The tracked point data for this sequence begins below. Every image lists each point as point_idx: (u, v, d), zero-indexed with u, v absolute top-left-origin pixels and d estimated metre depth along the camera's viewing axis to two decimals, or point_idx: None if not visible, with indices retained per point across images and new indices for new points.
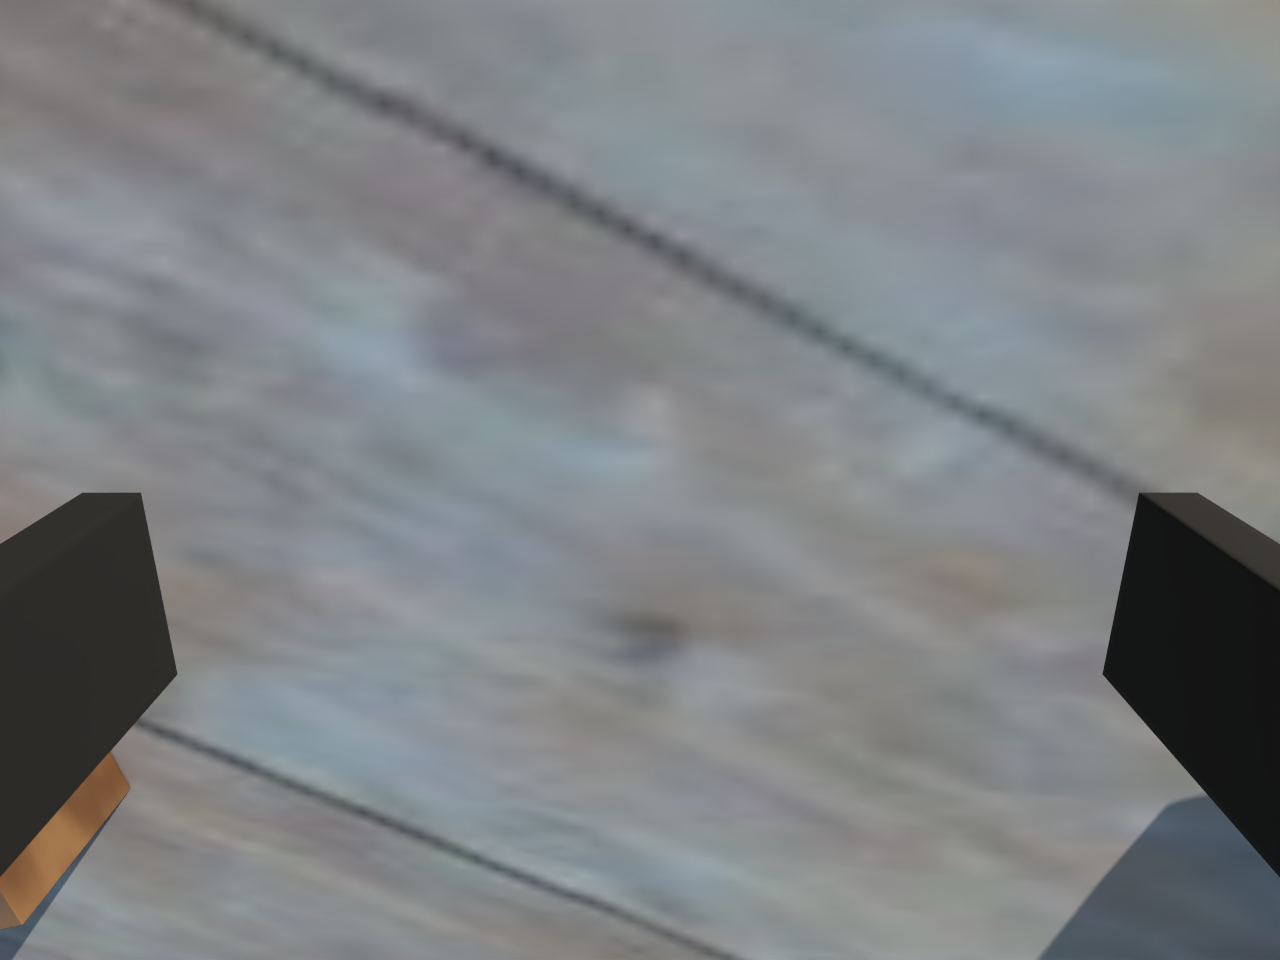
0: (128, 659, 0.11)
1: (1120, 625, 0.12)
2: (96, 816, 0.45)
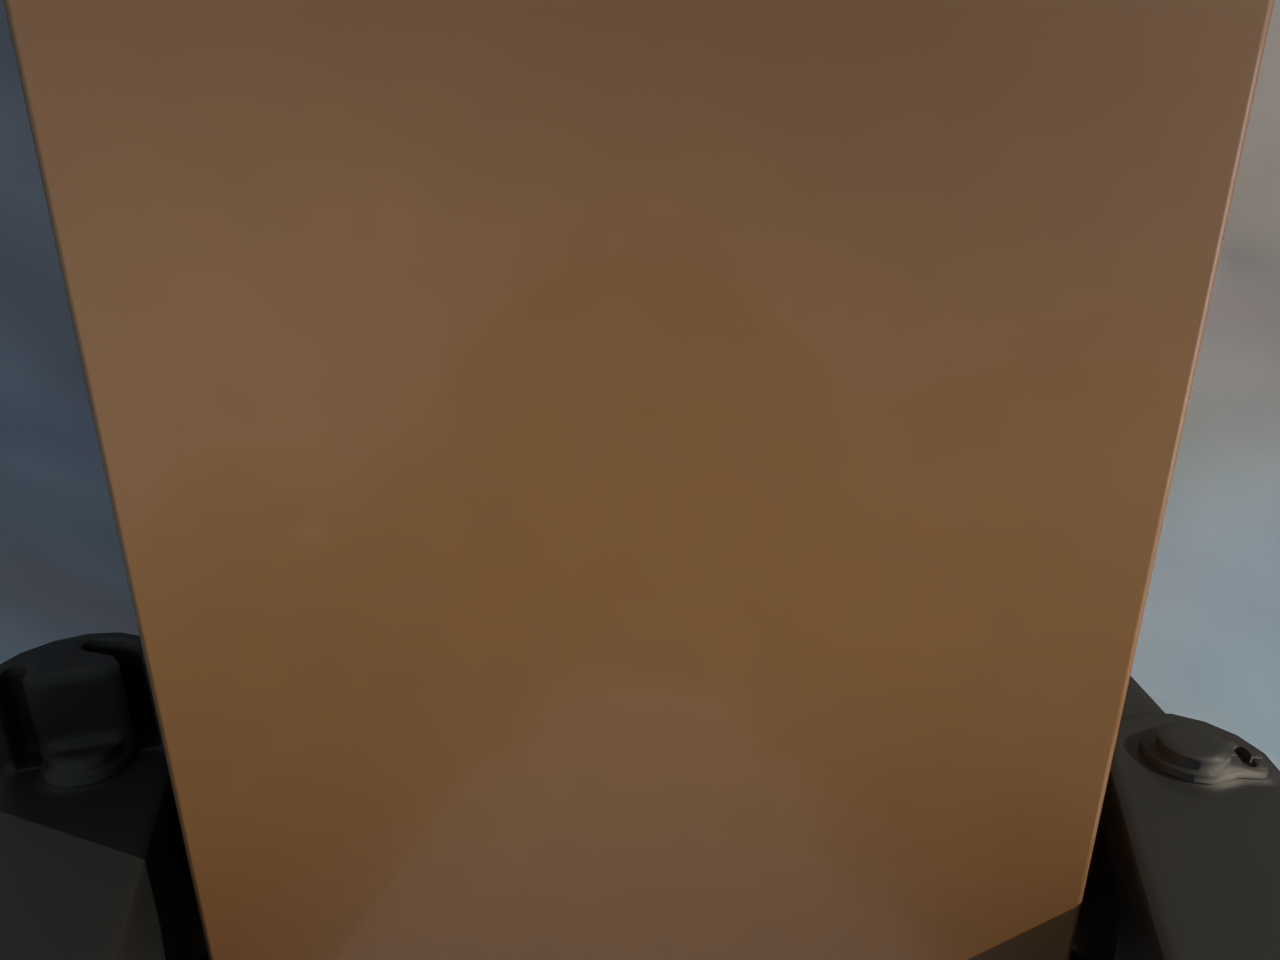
0: None
1: None
2: None
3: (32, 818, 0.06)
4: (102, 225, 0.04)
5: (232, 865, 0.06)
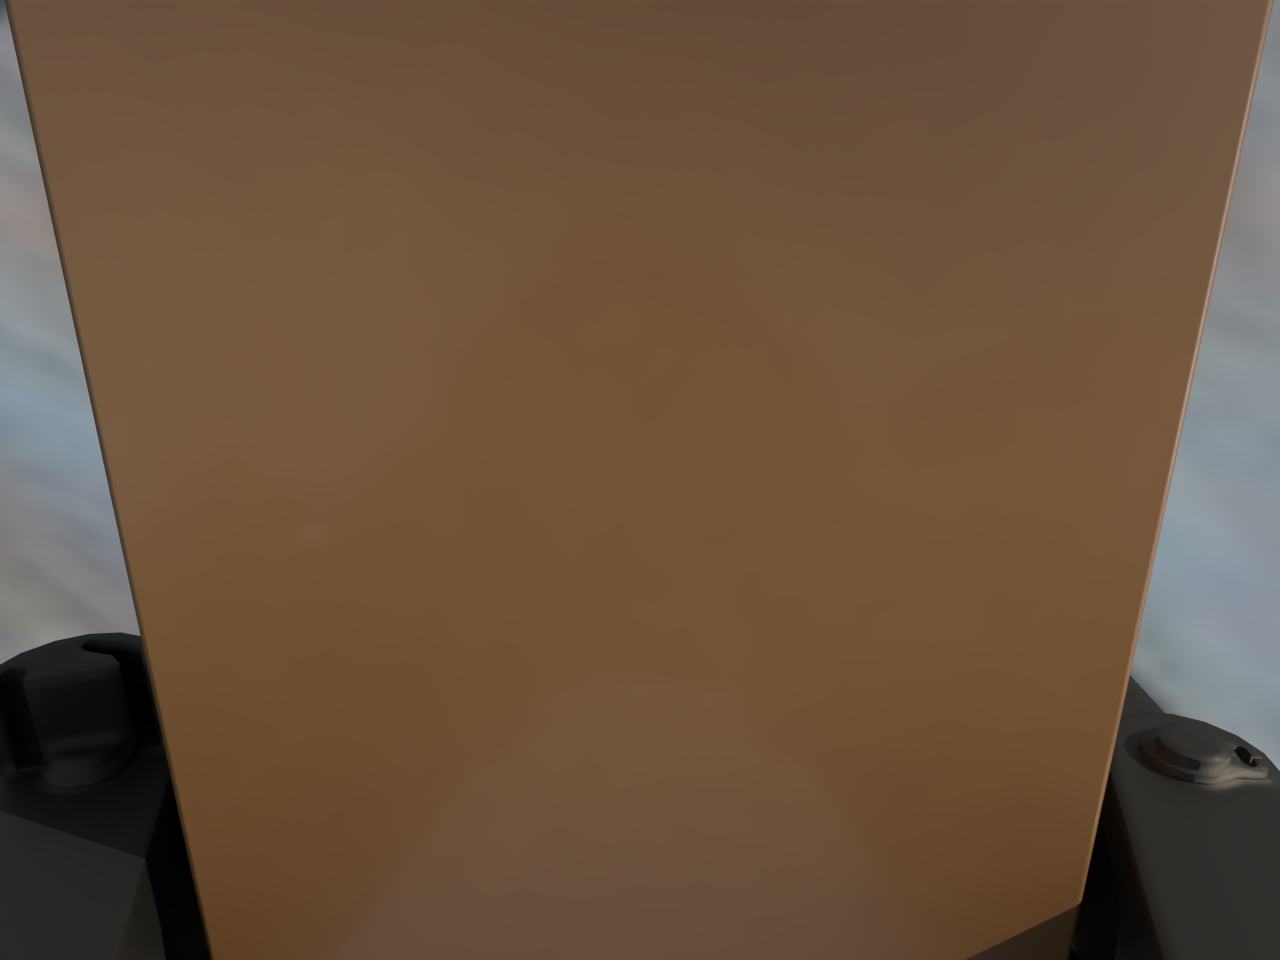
0: None
1: None
2: None
3: (31, 818, 0.06)
4: (102, 221, 0.04)
5: (232, 862, 0.06)
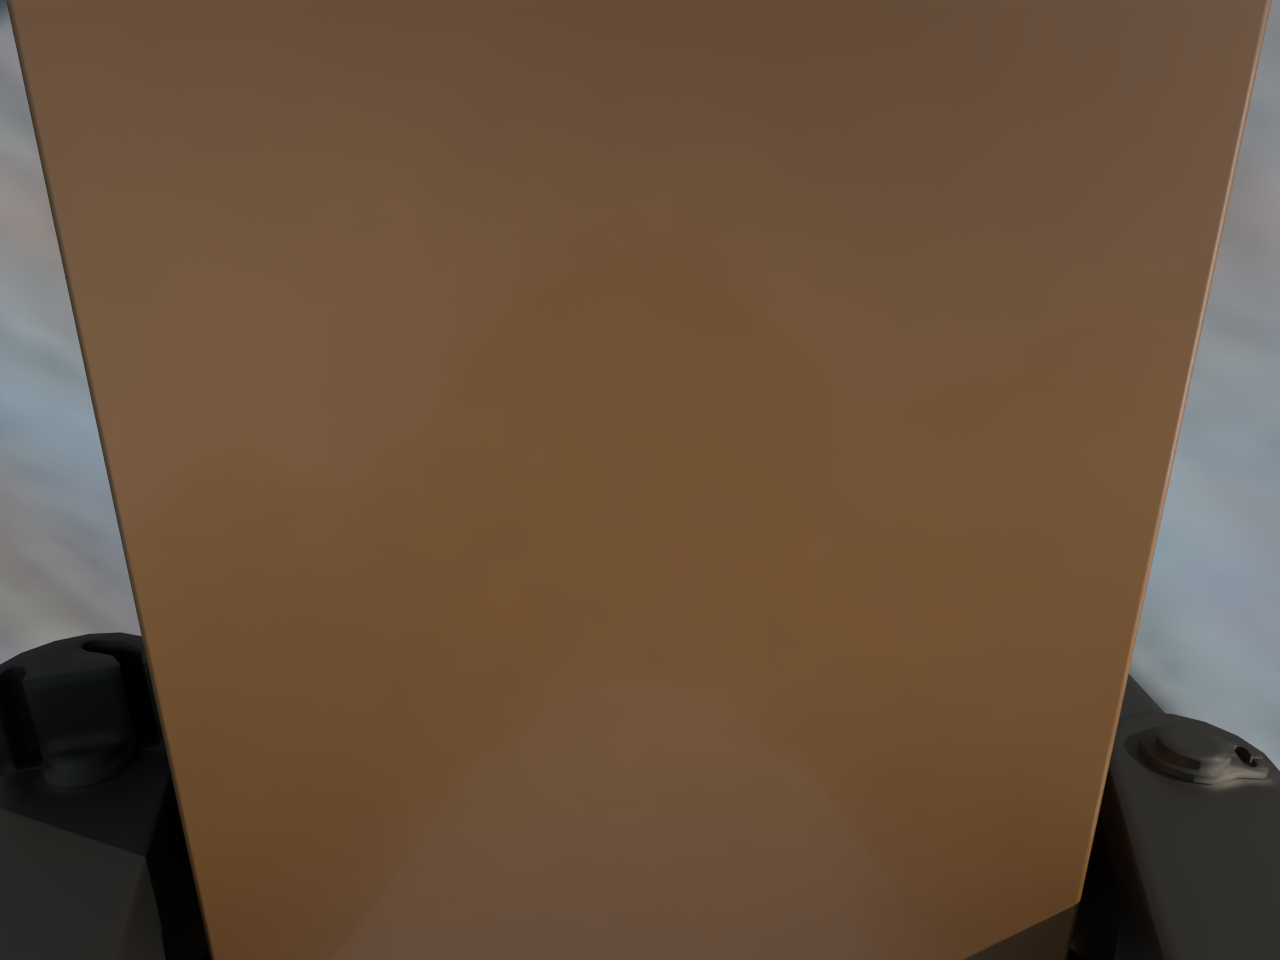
0: None
1: None
2: None
3: (31, 818, 0.06)
4: (104, 221, 0.04)
5: (233, 860, 0.06)
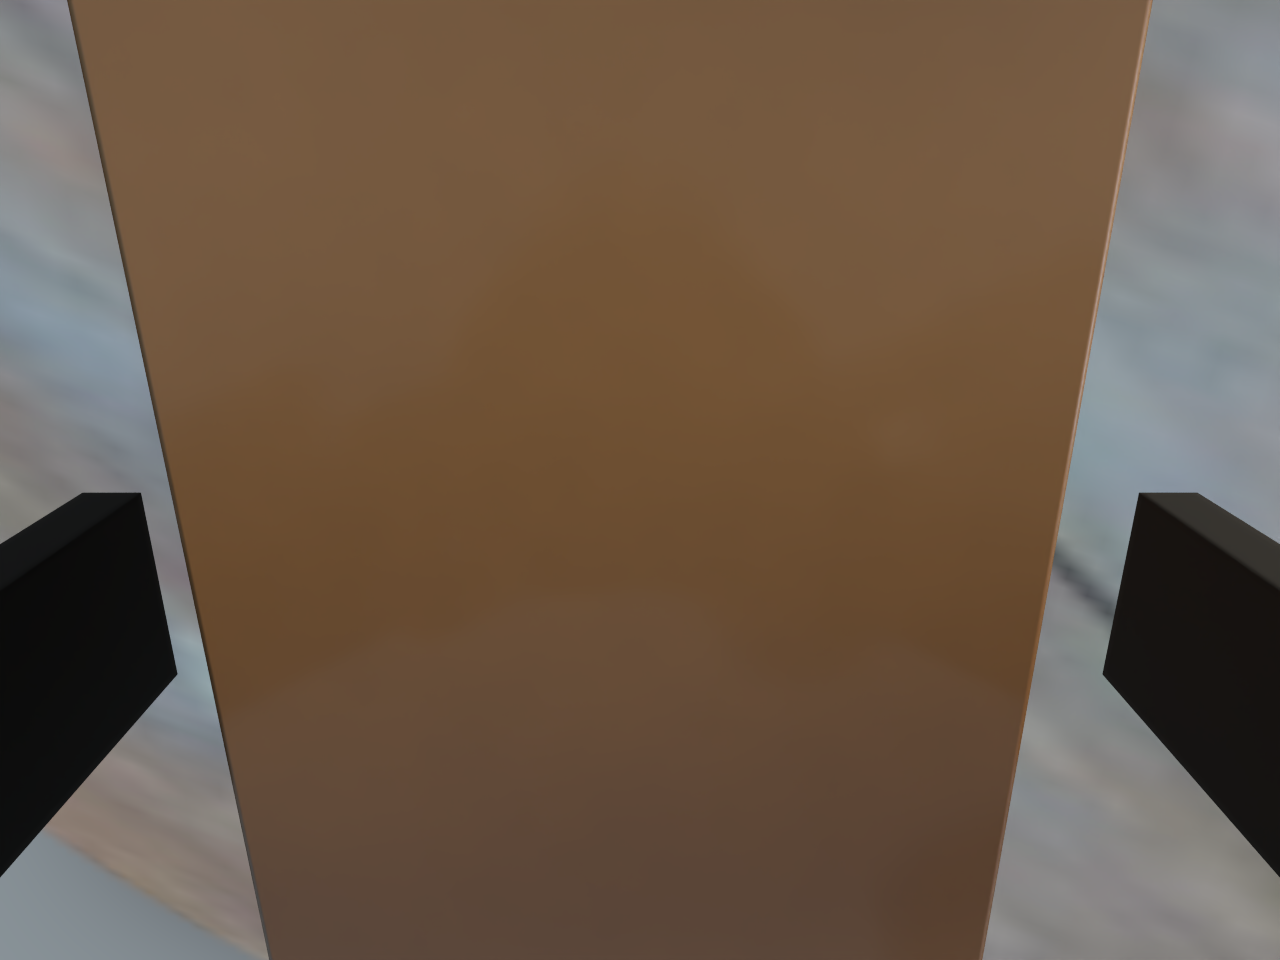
0: (128, 659, 0.11)
1: (1120, 625, 0.12)
2: None
3: None
4: None
5: (232, 583, 0.06)
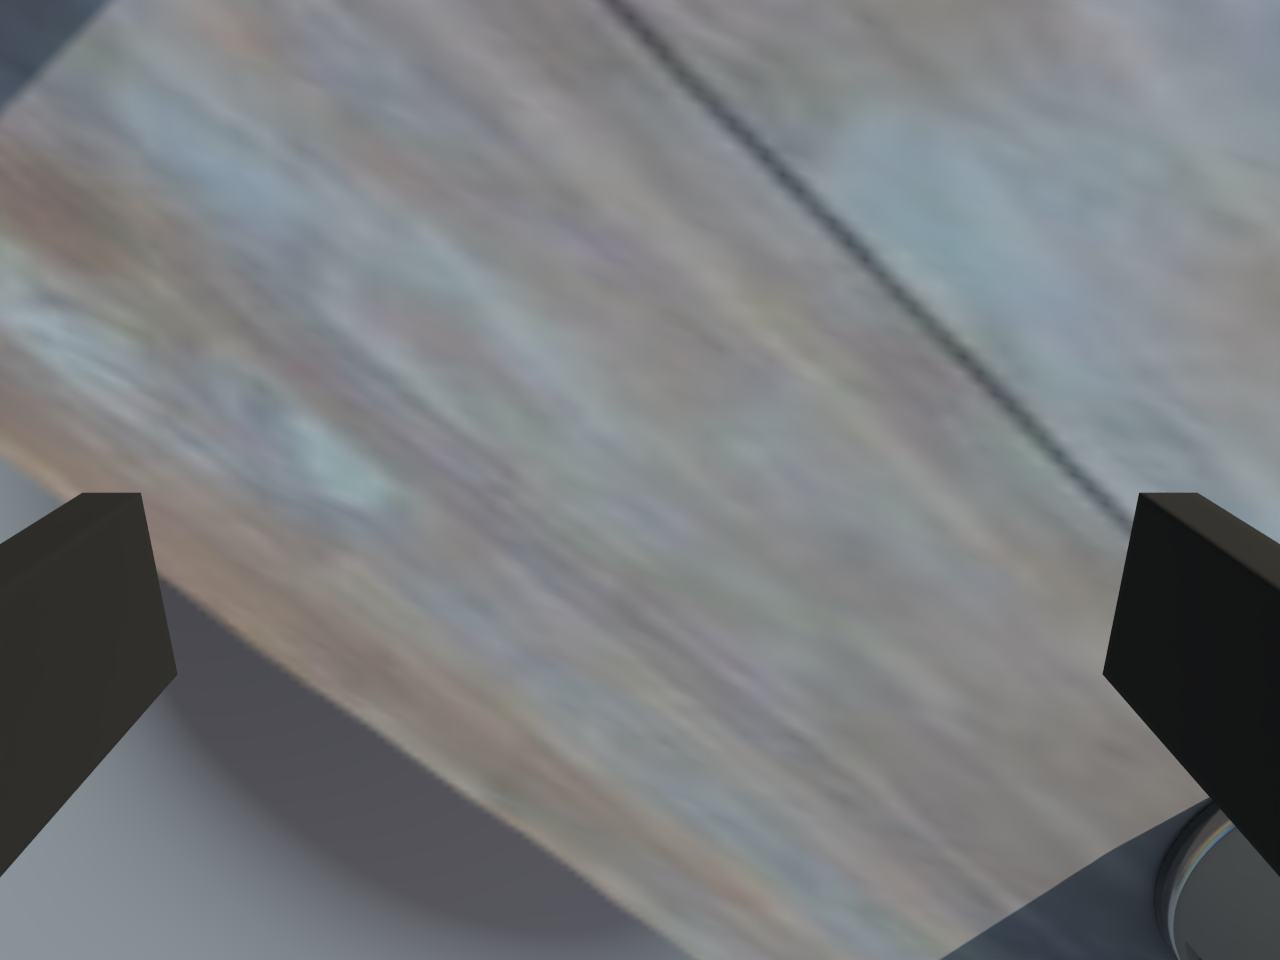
0: (128, 659, 0.11)
1: (1120, 625, 0.12)
2: None
3: None
4: None
5: None
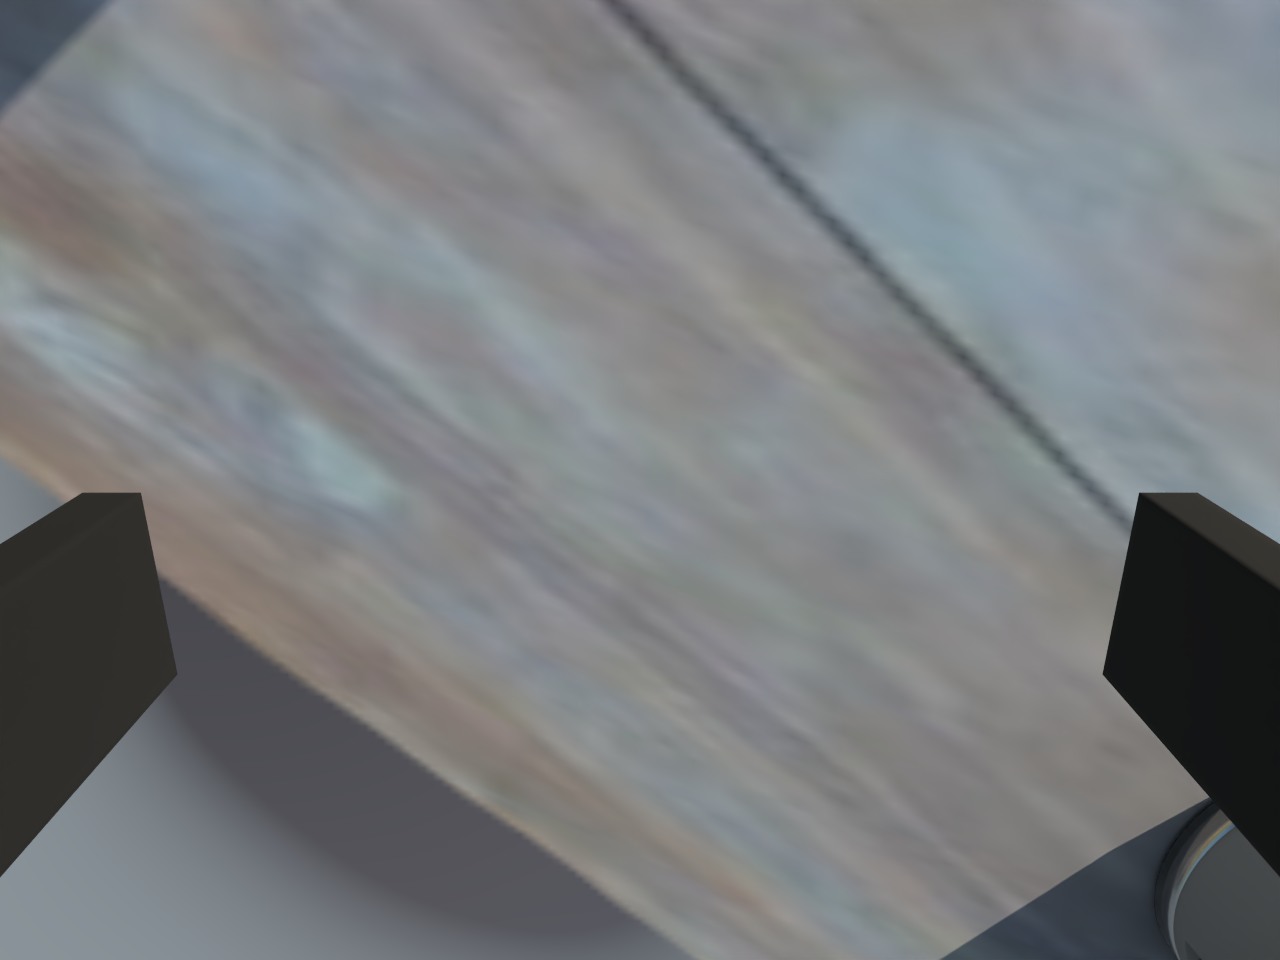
0: (128, 659, 0.11)
1: (1120, 625, 0.12)
2: None
3: None
4: None
5: None
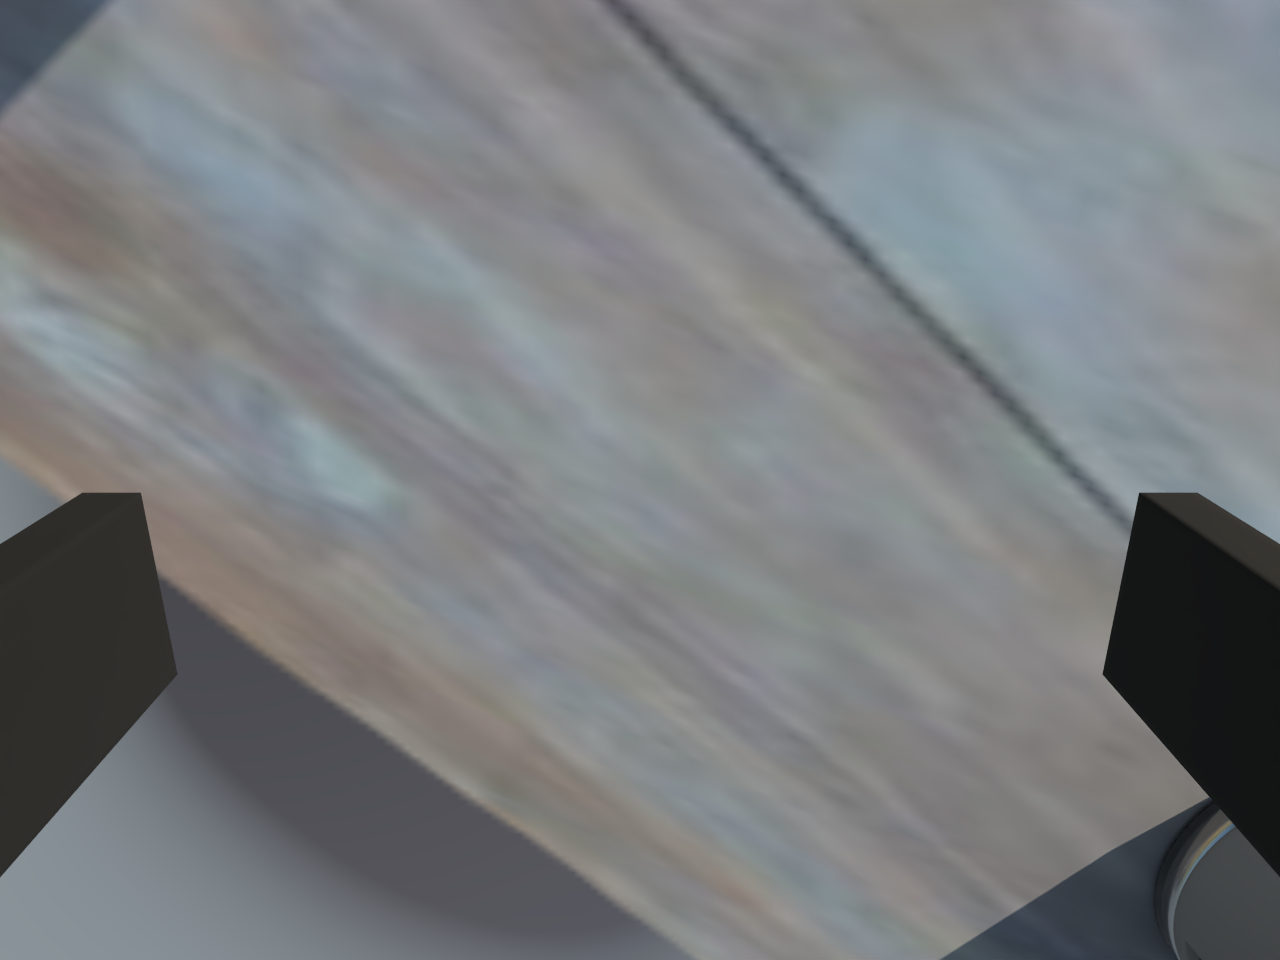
0: (128, 659, 0.11)
1: (1120, 625, 0.12)
2: None
3: None
4: None
5: None
